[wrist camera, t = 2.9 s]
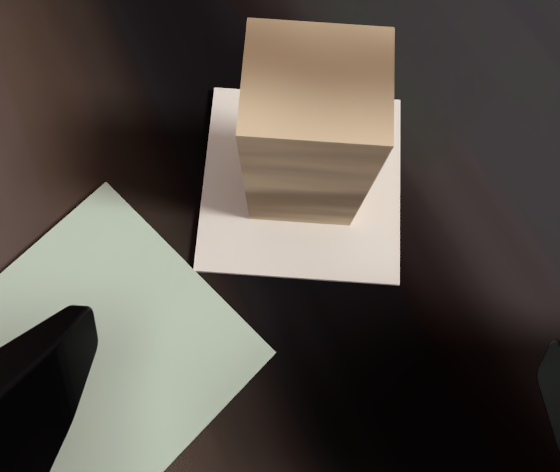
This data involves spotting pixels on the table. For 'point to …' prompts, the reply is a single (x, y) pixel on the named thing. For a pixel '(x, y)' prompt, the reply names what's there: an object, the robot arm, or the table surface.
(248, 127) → the oak block
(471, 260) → the table surface
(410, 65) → the table surface
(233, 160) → the tile
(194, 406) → the felt mat
